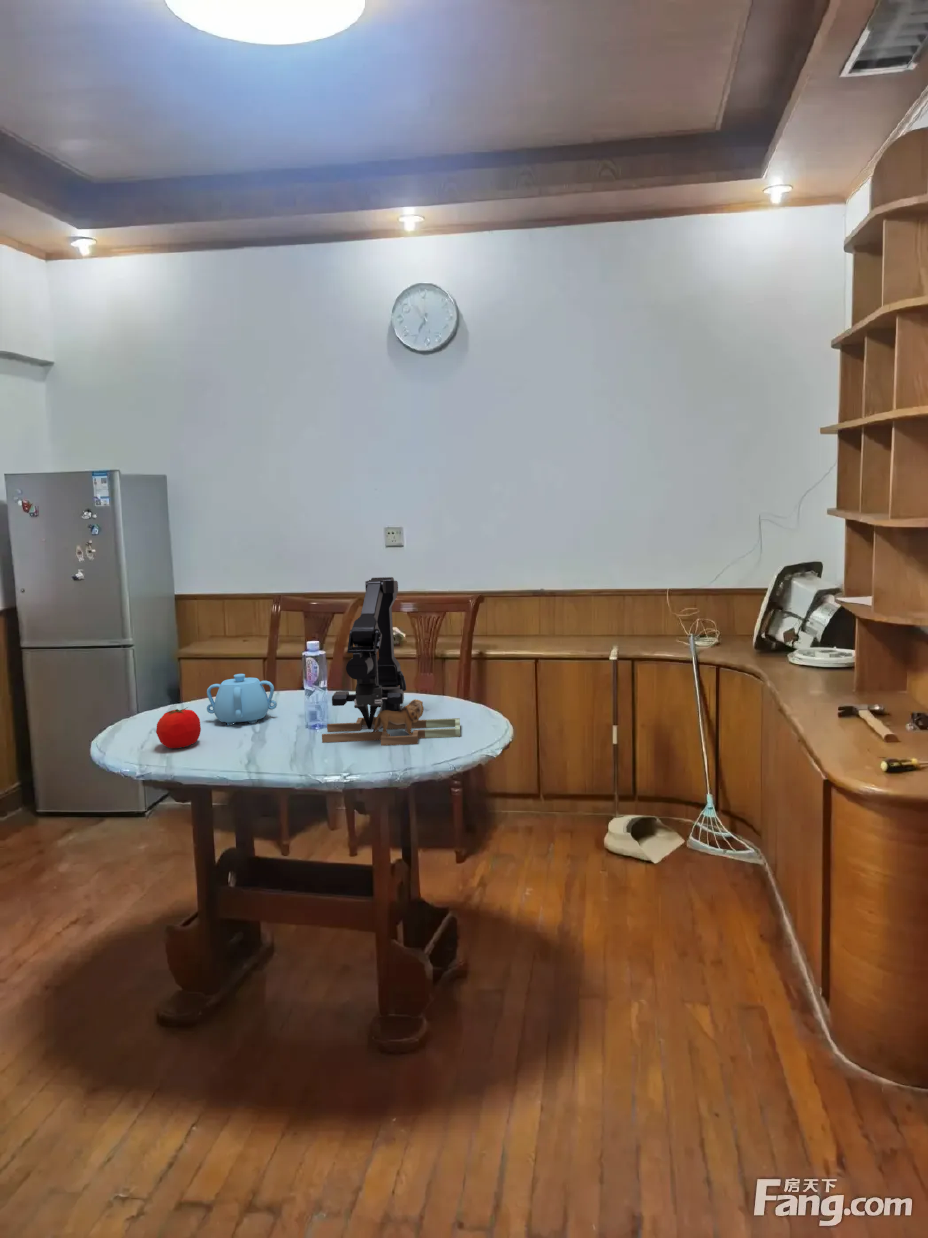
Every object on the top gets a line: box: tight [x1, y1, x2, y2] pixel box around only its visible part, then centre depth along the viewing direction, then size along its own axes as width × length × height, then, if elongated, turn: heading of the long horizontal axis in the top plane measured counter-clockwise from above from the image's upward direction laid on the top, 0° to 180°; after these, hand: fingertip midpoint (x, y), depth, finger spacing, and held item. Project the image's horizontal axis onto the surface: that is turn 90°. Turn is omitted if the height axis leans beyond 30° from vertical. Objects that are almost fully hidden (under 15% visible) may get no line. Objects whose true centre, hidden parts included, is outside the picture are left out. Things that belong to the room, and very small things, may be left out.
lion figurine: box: [372, 698, 424, 737], centre depth 249 cm, size 15×5×9 cm, turn 103°
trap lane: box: [321, 716, 461, 747], centre depth 250 cm, size 22×36×2 cm, turn 91°
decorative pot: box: [206, 673, 278, 725], centre depth 271 cm, size 16×16×14 cm
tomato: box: [155, 706, 202, 749], centre depth 246 cm, size 11×13×10 cm
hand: (369, 729), depth 250 cm, fingers closed
